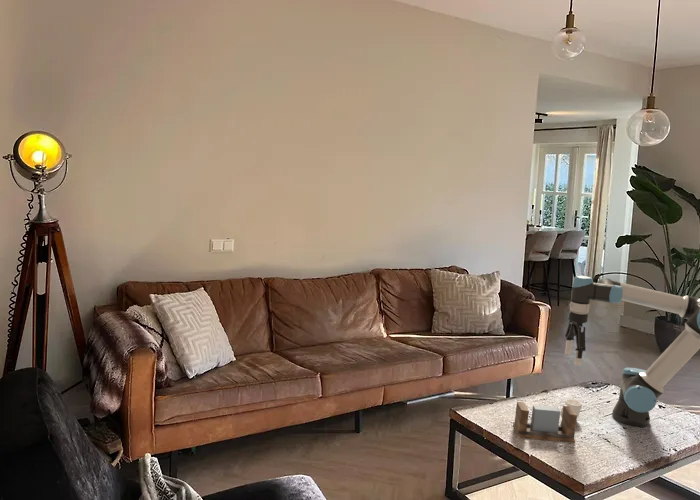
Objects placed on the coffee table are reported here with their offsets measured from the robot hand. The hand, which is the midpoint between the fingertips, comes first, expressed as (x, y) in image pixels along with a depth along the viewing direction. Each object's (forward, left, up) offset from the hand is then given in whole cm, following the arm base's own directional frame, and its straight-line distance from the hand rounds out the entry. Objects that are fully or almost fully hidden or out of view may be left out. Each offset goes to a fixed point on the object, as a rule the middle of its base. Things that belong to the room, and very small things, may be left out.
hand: (572, 359), depth 254 cm
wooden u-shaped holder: (+14, +18, -27) cm, 35 cm away
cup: (-1, +2, -27) cm, 27 cm away
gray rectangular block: (+14, +18, -26) cm, 34 cm away
